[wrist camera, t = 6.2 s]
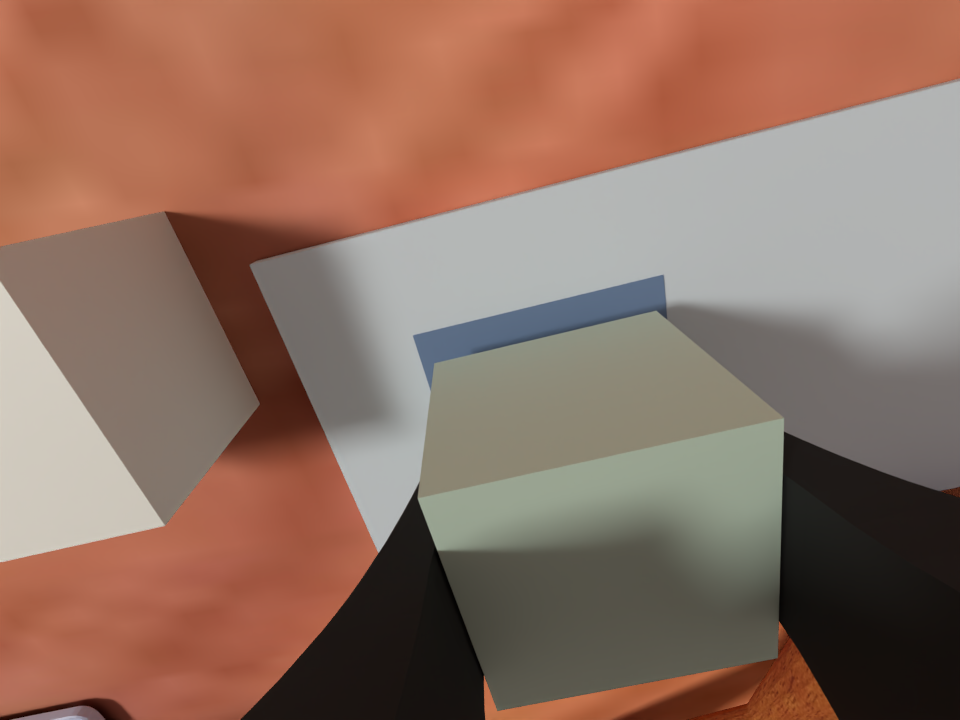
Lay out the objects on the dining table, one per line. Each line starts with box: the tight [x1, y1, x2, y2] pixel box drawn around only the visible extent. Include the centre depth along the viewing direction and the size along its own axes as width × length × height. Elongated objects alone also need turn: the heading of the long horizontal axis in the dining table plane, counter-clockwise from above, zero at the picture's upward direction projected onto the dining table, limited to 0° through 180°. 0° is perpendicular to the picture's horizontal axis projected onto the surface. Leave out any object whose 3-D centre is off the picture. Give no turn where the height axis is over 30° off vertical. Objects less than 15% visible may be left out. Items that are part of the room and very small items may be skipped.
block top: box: [0, 211, 260, 562], centre depth 10 cm, size 5×5×4 cm
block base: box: [418, 311, 784, 711], centre depth 9 cm, size 5×5×4 cm
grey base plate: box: [250, 79, 960, 553], centre depth 12 cm, size 18×11×1 cm, turn 104°
